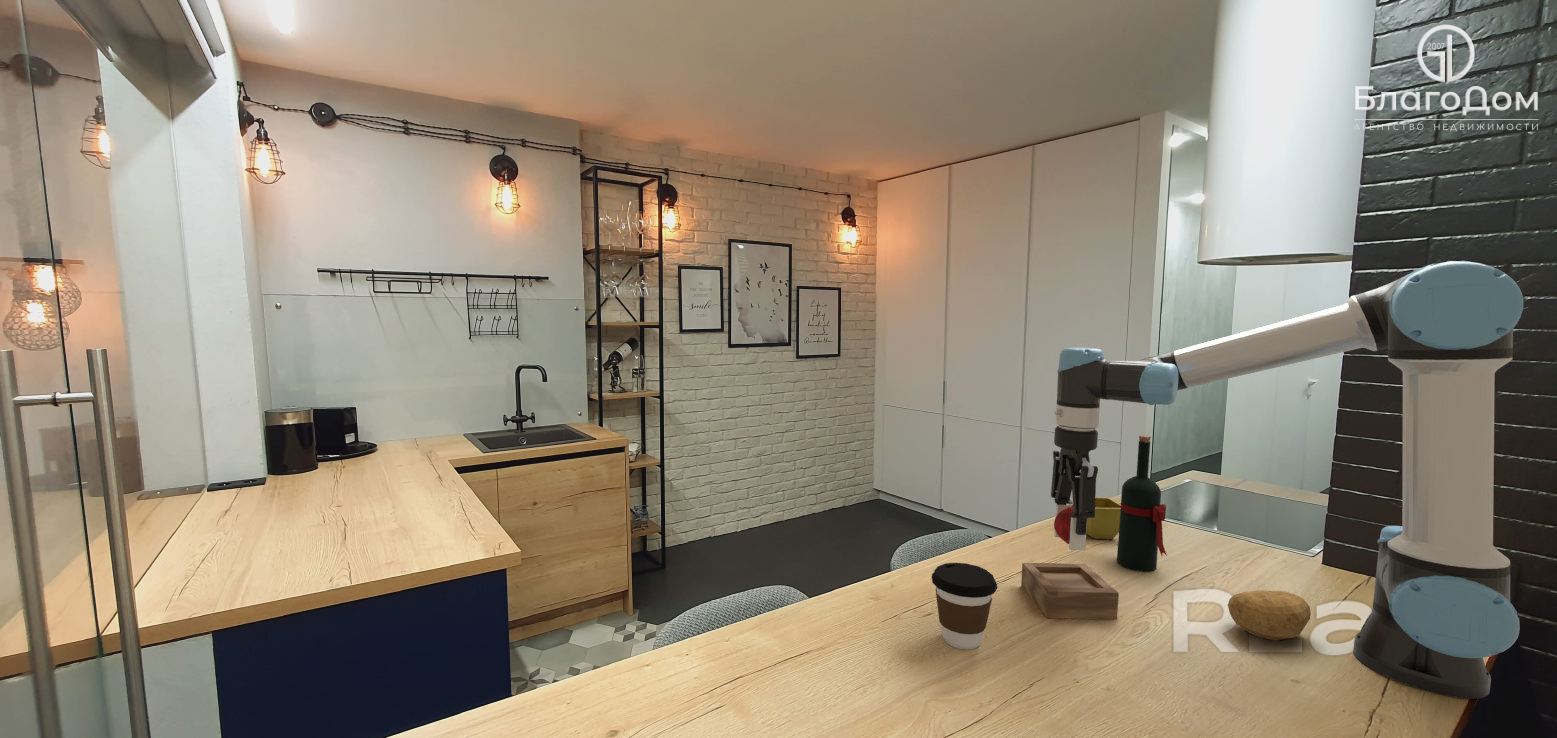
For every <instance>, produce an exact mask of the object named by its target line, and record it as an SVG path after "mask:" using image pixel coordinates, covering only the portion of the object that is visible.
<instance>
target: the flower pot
mask: <svg viewBox="0 0 1557 738" xmlns="http://www.w3.org/2000/svg"><path fill="white" fill-rule="evenodd" d="M1120 509H1121V503H1119V502H1117V501H1115V500H1113V499H1111V498H1110V497H1098V496H1097V497H1096V496H1095V517H1094V518H1088V519H1087V530H1086V535H1088V536H1090V537H1091V538H1092V539H1096V540H1097V539H1099V540H1100V539H1101V540H1112V539H1115V537H1116V536H1117V535H1119V523H1120Z"/></svg>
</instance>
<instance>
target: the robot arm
mask: <svg viewBox="0 0 1557 738" xmlns="http://www.w3.org/2000/svg"><path fill="white" fill-rule="evenodd" d="M1523 311H1524V296H1523V293H1522V291H1521V289H1520V286H1519V285H1518V284H1517V282H1516V281H1515V280H1514V279H1513V278H1512V277H1511V276H1509V275H1508V274H1507V273H1505V272H1503V271H1502V270H1500V269H1498V268H1496V267H1493V266H1491V265H1488V264H1484V263H1480V262H1473V261H1472V262H1471V261H1467V260H1461V261H1460V260H1459V261H1456V260H1455V261H1453V260H1447V261H1446V262H1445V261H1444V262H1440V263H1432V264H1429V265H1425V266H1422V267H1420V268H1419V269H1418V268H1417V269H1416V270H1413V271H1412V272H1411V273H1408V274H1406V275H1404V276H1401V277H1400V278H1398V279H1396V280H1394V281H1392V282H1390V283H1387V284H1385V285H1382V286H1379V287H1378V288H1377V287H1376V288H1375V289H1372V290H1367V291H1365V292H1362V293H1359V294H1355V295H1351V296H1349V298H1348V300H1347V301H1346V302H1345V303H1344V304H1342V305H1337V306H1333V307H1330V308H1326V309H1323V310H1319V311H1316V312H1312V313H1308V314H1304V315H1300V316H1297V317H1293V318H1290V319H1286V320H1282V321H1279V322H1275V323H1271V324H1268V325H1264V326H1261V327H1257V328H1254V329H1250V330H1245V331H1242V332H1239V333H1234V334H1231V335H1228V336H1225V337H1224V336H1223V337H1220V338H1216V339H1213V340H1208V341H1205V342H1202V343H1199V344H1198V343H1197V344H1195V345H1191V346H1187V347H1184V348H1179V349H1177V350H1174V351H1170V352H1169V351H1168V352H1166V353H1161V354H1158V355H1154V356H1149V357H1144V358H1142V359H1140V360H1113V359H1106V358H1105V356H1104V352H1103V350H1102V349H1100V348H1096V347H1095V348H1092V347H1064V348H1063V349H1062V350H1061V351H1060V353H1059V360H1058V369H1057V370H1056V371H1057V390H1056V391H1057V393H1056V405H1055V406H1056V407H1055V409H1054V410H1053V413H1054V415H1055V424H1056V425H1057V426H1056V427H1055V428H1054V437H1053V438H1054V439H1053V443H1054V445H1055V446H1056V447H1058V448H1060V449H1059V450H1053V451H1052V457H1053V458H1052V459H1053V467H1052V475H1051V490H1050V497H1051V498H1052V499H1054V503H1055V518H1056V516H1057V515H1058V514H1059V513H1060V512H1061V511H1063V510H1065V509H1067V508H1068V506H1069V505H1070V504H1073V509H1074V514H1070V517H1071V527H1070V543H1069V544H1068V545H1069V546H1068V549H1069V551H1070V550H1071V551H1086V545H1087V544H1086V543H1087V533H1086V530H1087V519H1088V518H1094V517H1095V497H1096V493H1097V491H1096V490H1097V489H1096V488H1097V487H1096V486H1097V477H1098V473H1099V468H1098V466H1097V465H1091V461H1090V459H1091V458H1090V455H1089V453H1090V451H1094V450H1096V449H1097V448H1098V441H1099V440H1098V435H1099V431H1097V428H1099V424H1100V423H1099V422H1100V409H1101V408H1100V402H1101V400H1104V401H1105V400H1106V401H1109V400H1111V401H1119V402H1120V401H1121V402H1126V403H1127V402H1128V403H1136V404H1138V403H1139V404H1147V405H1150V406H1153V405H1163V406H1169V405H1172V404H1173V403H1174V402H1175V401H1176V398H1177V395H1178V392H1179V391H1183V390H1186V389H1189V388H1193V387H1194V388H1195V387H1198V386H1203V385H1206V384H1211V383H1215V382H1219V381H1223V380H1228V379H1232V378H1236V377H1241V376H1246V375H1250V374H1254V373H1258V372H1262V371H1267V370H1271V369H1275V368H1280V367H1285V366H1289V365H1292V364H1293V365H1294V364H1298V363H1302V362H1306V361H1311V360H1315V359H1319V358H1323V357H1327V356H1332V355H1337V354H1340V353H1345V352H1350V351H1353V350H1358V349H1362V348H1363V349H1367V350H1370V351H1373V352H1377V351H1381V350H1386V349H1387V360H1388V362H1389V363H1391V364H1392V365H1394V366H1395V367H1397V368H1398V369H1399V370H1400V371H1401V372H1402V513H1401V514H1402V516H1401V517H1402V521H1401V522H1402V526H1401V525H1387V526H1385V527H1383V528H1382V529H1381V531H1380V535H1379V539H1377V544H1378V552H1377V553H1378V555H1377V563H1376V573H1375V581H1374V591H1373V598H1372V599H1373V600H1372V601H1373V602H1372V609H1371V612H1370V614H1369V615H1368V616H1367V618H1366V620H1365V622H1364V623H1363V625H1362V627H1361V629H1360V632H1358V633H1357V634H1356V635H1355V637H1354V641H1353V650H1352V651H1353V654H1354V656H1355V658H1357V659H1358V660H1359V661H1360V662H1361V663H1363V664H1364V665H1365V666H1366V667H1368V668H1370V669H1372V670H1373V671H1375V672H1377V673H1378V674H1380V675H1383V676H1385V677H1387V678H1389V679H1391V680H1394V681H1396V682H1399V683H1402V684H1403V685H1407V686H1408V687H1409V686H1410V687H1413V688H1415V689H1418V690H1421V691H1425V692H1429V693H1432V694H1437V695H1442V696H1446V697H1451V698H1458V699H1467V700H1468V699H1472V700H1473V699H1475V700H1476V699H1477V700H1478V699H1482V698H1485V697H1488V696H1489V694H1490V692H1491V682H1492V678H1491V674H1490V672H1489V670H1488V669H1487V667H1486V665H1485V661H1484V658H1488V657H1493V656H1494V655H1498V654H1500V653H1501V654H1502V653H1503V652H1506V651H1507V650H1508V649H1510V648H1511V647H1512V646H1513V645H1514V644H1515V642H1516V641H1517V639H1518V637H1519V634H1520V629H1521V628H1520V617H1519V616H1518V611H1517V610H1516V609H1515V607H1514V604H1512V603H1511V560H1510V559H1509V558H1508V557H1507V556H1506V555H1504V554H1503V553H1502V552H1500V551H1499V550H1498V549H1497V548H1496V547H1495V546H1494V485H1495V484H1494V479H1495V477H1494V475H1495V474H1494V471H1495V470H1494V469H1495V467H1494V466H1495V465H1494V464H1495V463H1494V462H1495V459H1494V458H1495V456H1494V455H1495V452H1494V451H1495V380H1496V379H1495V373H1496V372H1497V371H1498V370H1499V369H1501V368H1502V367H1504V366H1505V365H1507V364H1508V363H1510V362H1511V361H1513V351H1514V350H1513V346H1514V342H1513V341H1514V329H1515V328H1516V326H1517V324H1518V323H1519V320H1520V319H1521V318H1522V314H1523ZM1071 494H1072V495H1071ZM1071 496H1072V500H1071ZM1053 534H1054V535H1053V536H1054V537H1055V538H1060V537H1059V536H1058V535H1057V533H1056V531H1055V530H1054V533H1053Z"/></svg>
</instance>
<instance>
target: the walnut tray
mask: <svg viewBox="0 0 1557 738" xmlns="http://www.w3.org/2000/svg"><path fill="white" fill-rule="evenodd" d="M1020 584H1021V585H1020V587H1021V589H1023V590H1024V592H1025V594H1027V595H1028V596H1029V598H1030V599H1031V600H1032V601H1033V602H1034V603H1035V605H1036V606H1037V607H1038V608H1039V610H1041V612H1042V613H1043V615H1044V616H1045V617H1046V618H1047V619H1084V620H1085V619H1087V620H1118V612H1119V611H1118V609H1119V594H1120V592H1118V590H1117V589H1115V588H1114V587H1113V586H1112V585H1110V584H1109V583H1108V582H1107V581H1105V580H1104V578H1102V577H1101V576H1100V575H1099V574H1097V573H1096V572H1095V571H1094V570H1093V569H1092V568H1090V567H1089V566H1088V565H1087V564H1086V563H1054V562H1050V563H1049V562H1044V563H1043V562H1022V563H1021V580H1020Z"/></svg>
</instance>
